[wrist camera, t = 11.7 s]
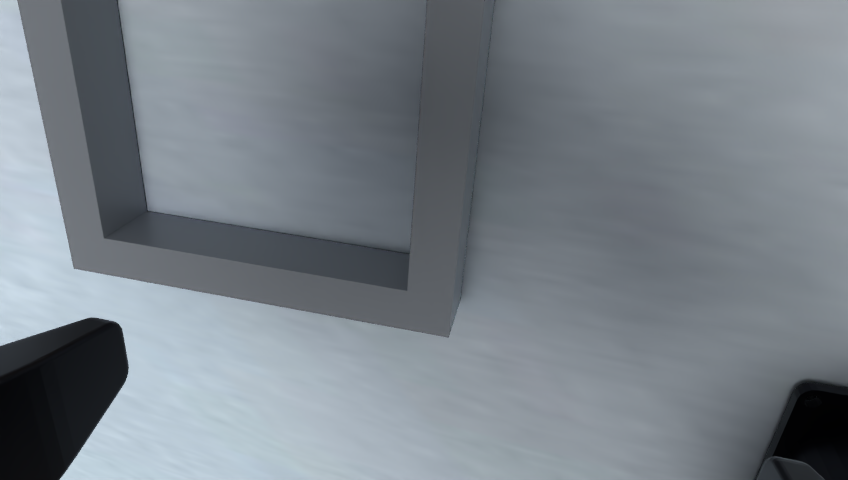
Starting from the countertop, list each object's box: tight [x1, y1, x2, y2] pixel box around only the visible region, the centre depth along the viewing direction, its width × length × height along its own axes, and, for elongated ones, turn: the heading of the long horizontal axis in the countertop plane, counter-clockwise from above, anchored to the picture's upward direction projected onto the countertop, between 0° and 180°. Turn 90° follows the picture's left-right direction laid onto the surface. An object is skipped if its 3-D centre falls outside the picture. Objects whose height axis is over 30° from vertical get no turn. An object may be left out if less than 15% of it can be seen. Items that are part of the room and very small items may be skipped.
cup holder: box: [17, 0, 495, 337], centre depth 19 cm, size 14×14×2 cm
